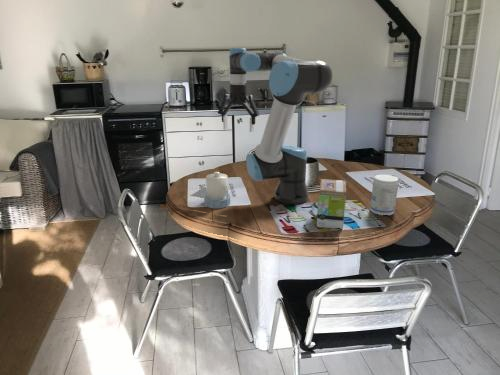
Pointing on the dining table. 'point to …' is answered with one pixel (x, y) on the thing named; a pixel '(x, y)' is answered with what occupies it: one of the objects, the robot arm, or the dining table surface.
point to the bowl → (216, 202)
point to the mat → (200, 193)
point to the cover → (217, 186)
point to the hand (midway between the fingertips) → (238, 130)
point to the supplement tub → (384, 194)
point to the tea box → (331, 203)
